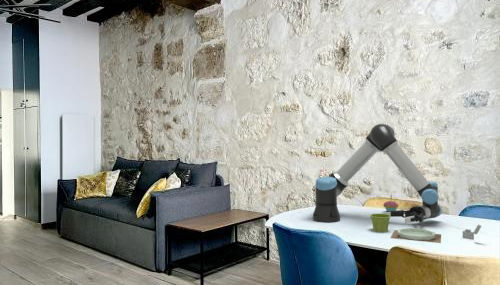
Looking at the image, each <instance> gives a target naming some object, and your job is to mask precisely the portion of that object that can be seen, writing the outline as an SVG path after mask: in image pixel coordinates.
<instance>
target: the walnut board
mask: <svg viewBox="0 0 500 285" xmlns="http://www.w3.org/2000/svg"><path fill="white" fill-rule="evenodd" d="M398 230H399V229H395V230H393V232H392V233H391V235H390V239H397V240H406V241H411V240H410V239H405V238H402V237H400V236H398V235H397V232H398ZM413 241H414V242H415V241H416V242H421V241H420V240H413ZM423 242H425V243H427V242H428V243H436V244H442V234H440V233H435V238H434V239H432V240H425V241H423Z"/></svg>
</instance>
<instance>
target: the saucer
mask: <svg viewBox="0 0 500 285" xmlns="http://www.w3.org/2000/svg"><path fill="white" fill-rule="evenodd" d="M397 230H398V232H397V235H398V236H400V237H402V238H405V239H410V240H409V241H414V240H420V241H419V242H424V241H425V240H432V239H434V238H435V234H436V232H435V231H432V230H429V229H425V228H415V227H408V228H399V229H397ZM405 239H404V240H405Z"/></svg>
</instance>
